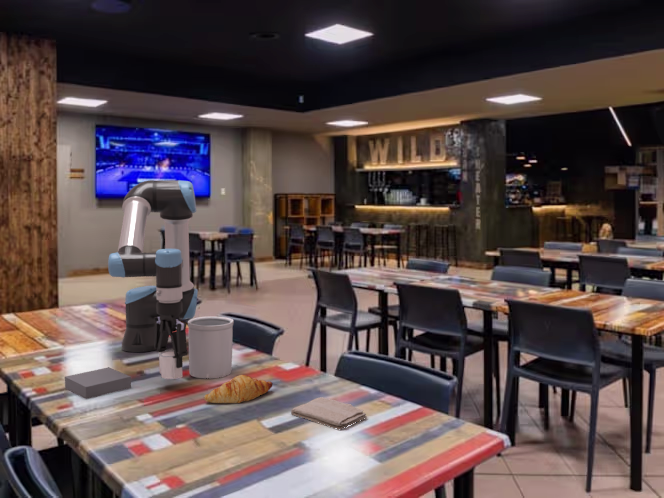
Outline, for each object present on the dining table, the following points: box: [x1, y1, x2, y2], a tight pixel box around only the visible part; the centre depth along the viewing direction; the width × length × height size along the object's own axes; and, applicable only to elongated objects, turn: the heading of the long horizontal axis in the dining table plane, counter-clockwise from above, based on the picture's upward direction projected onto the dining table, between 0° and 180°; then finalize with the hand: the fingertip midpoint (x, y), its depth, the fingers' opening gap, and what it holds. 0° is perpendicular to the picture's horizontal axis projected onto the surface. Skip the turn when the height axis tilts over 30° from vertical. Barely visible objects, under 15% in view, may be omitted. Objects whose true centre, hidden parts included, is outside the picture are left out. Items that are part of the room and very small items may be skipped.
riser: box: [64, 366, 132, 400], centre depth 182 cm, size 14×14×4 cm
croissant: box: [203, 374, 274, 404], centre depth 174 cm, size 21×10×8 cm, turn 124°
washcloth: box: [290, 396, 367, 430], centre depth 160 cm, size 12×18×3 cm, turn 52°
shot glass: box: [158, 350, 175, 380], centre depth 183 cm, size 7×7×7 cm
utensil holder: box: [187, 315, 235, 379], centre depth 198 cm, size 15×15×18 cm
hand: (170, 374), depth 183 cm, fingers closed on shot glass, 7 cm apart
